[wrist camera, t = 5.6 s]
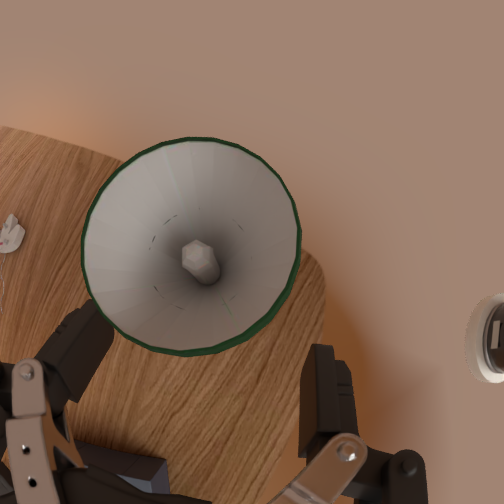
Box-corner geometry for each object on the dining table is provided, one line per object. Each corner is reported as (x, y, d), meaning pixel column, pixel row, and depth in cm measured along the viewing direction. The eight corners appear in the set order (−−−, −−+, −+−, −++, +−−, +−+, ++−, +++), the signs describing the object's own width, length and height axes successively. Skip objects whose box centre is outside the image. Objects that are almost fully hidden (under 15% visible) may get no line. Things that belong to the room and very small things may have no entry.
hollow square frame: (166, 459, 21) (150, 481, 16) (177, 537, 18) (166, 563, 13) (69, 437, 21) (42, 449, 16) (86, 514, 18) (66, 532, 13)
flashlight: (246, 350, 24) (231, 407, 5) (194, 321, 25) (43, 278, 6) (274, 298, 25) (342, 187, 6) (222, 271, 26) (156, 110, 7)
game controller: (27, 211, 28) (14, 203, 25) (33, 302, 25) (19, 299, 23) (-1, 227, 27) (-13, 220, 25) (4, 314, 25) (-10, 311, 22)
